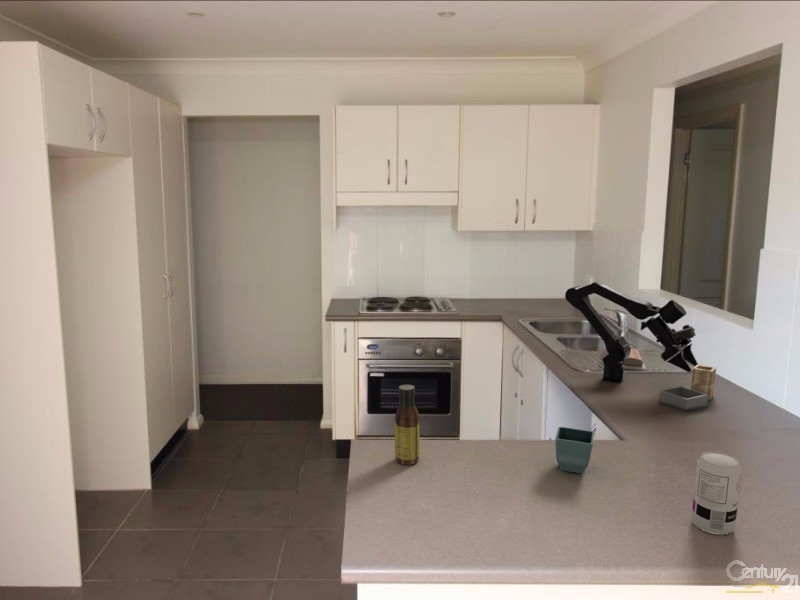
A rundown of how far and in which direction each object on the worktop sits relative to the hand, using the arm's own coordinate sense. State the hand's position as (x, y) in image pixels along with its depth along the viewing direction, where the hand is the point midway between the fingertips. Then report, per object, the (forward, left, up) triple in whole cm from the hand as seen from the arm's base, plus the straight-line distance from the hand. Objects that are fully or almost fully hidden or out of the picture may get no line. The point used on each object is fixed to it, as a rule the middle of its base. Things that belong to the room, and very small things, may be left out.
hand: (693, 368), depth 214 cm
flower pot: (-22, -79, -9) cm, 82 cm away
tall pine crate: (+3, 0, -9) cm, 10 cm away
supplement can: (+10, -92, -9) cm, 93 cm away
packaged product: (-24, +30, -10) cm, 40 cm away
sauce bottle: (-60, -96, -9) cm, 113 cm away
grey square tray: (-2, -12, -9) cm, 16 cm away
